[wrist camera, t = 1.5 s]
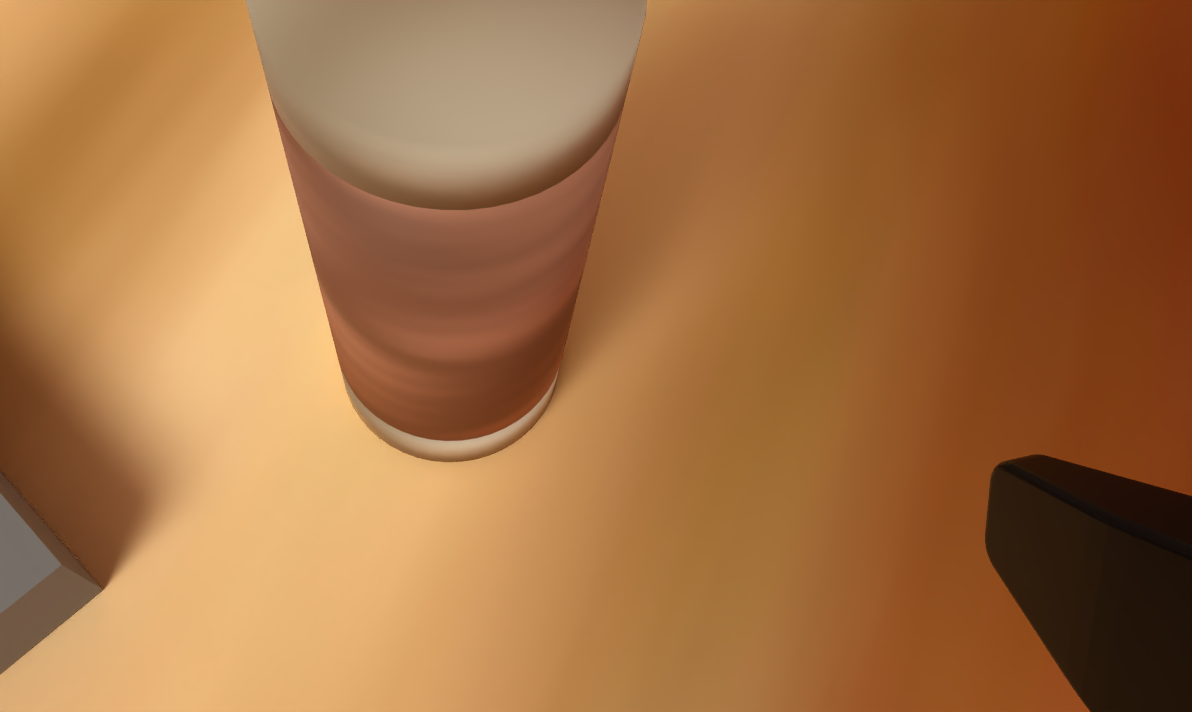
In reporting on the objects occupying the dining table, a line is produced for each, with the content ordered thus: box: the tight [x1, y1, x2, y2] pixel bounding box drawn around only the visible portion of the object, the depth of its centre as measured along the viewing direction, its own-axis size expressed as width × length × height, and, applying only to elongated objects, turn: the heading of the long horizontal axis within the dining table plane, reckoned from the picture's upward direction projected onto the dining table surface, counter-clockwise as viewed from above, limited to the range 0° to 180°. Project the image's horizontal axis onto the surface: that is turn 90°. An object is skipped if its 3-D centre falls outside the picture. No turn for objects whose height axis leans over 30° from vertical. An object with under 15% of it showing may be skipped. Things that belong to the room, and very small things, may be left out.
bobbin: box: [246, 0, 647, 462], centre depth 19 cm, size 5×5×12 cm
